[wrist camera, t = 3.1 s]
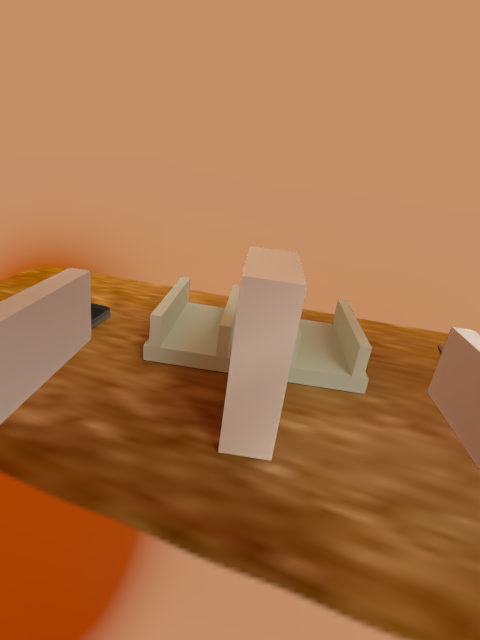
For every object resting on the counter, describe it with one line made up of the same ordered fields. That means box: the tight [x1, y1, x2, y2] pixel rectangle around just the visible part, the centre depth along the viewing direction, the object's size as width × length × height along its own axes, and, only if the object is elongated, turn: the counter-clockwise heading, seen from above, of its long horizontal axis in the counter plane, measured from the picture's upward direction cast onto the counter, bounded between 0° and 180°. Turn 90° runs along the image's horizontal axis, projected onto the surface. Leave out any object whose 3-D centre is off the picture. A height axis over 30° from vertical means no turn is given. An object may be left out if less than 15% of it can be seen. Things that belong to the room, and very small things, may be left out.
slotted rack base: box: [143, 277, 372, 394], centre depth 39 cm, size 20×12×4 cm, turn 85°
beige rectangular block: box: [218, 246, 307, 461], centre depth 26 cm, size 4×8×12 cm, turn 175°
